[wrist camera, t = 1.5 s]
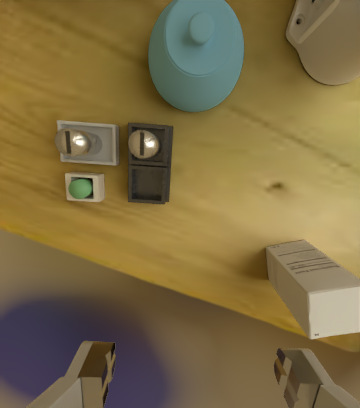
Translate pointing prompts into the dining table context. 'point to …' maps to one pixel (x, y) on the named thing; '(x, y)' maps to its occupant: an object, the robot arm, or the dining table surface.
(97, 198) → the box
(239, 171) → the dining table surface
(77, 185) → the button
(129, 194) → the dark two-compartment tray
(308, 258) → the supplement box
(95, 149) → the cylinder
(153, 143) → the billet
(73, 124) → the tote
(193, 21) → the sugar bowl
